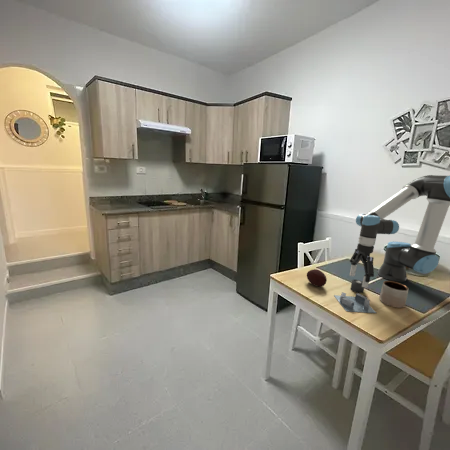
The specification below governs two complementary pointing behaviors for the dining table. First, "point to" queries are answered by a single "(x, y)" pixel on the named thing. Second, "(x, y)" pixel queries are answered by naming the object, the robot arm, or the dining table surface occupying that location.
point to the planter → (394, 294)
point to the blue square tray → (355, 303)
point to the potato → (316, 277)
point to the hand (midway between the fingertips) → (358, 281)
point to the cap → (357, 286)
